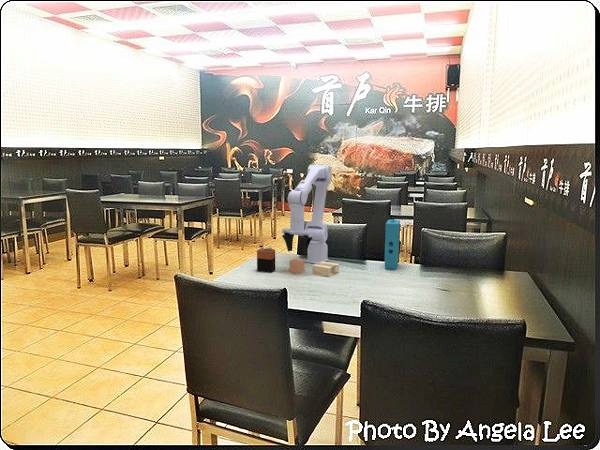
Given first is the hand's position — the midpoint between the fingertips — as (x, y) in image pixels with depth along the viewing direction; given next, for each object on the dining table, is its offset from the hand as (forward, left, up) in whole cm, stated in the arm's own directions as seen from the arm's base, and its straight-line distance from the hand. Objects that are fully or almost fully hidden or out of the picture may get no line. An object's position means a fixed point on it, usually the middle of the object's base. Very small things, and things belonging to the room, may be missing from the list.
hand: (297, 252), depth 184 cm
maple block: (-5, +11, -9) cm, 15 cm away
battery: (+7, -11, -8) cm, 16 cm away
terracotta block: (0, 0, -8) cm, 8 cm away
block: (-31, +28, -8) cm, 43 cm away
